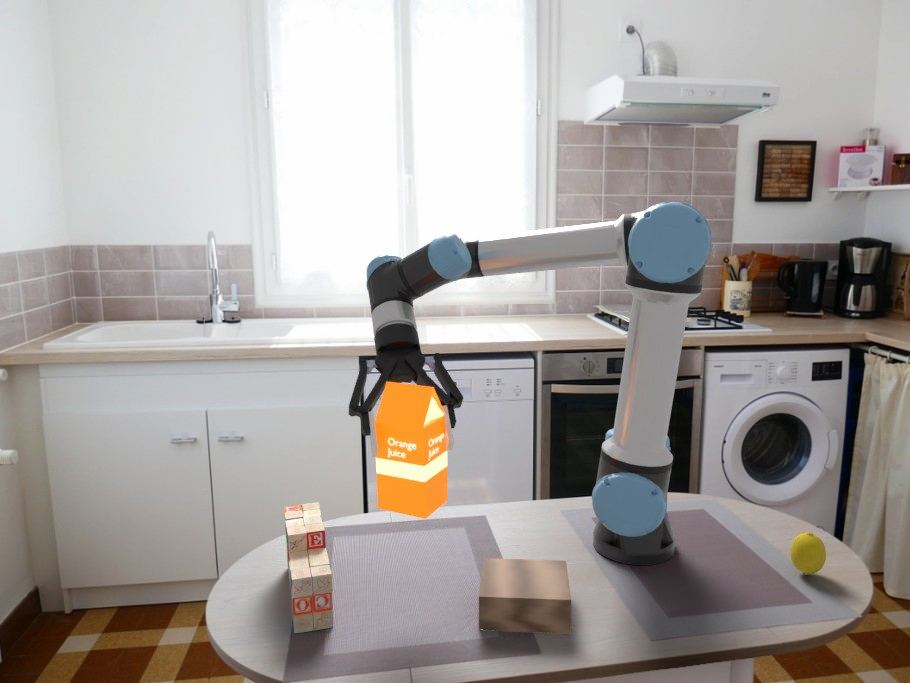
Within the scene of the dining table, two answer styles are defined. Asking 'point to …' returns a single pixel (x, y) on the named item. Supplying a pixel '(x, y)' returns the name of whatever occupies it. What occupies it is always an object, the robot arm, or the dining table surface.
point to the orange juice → (411, 450)
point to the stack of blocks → (308, 568)
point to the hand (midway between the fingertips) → (413, 449)
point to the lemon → (808, 553)
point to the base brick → (525, 596)
